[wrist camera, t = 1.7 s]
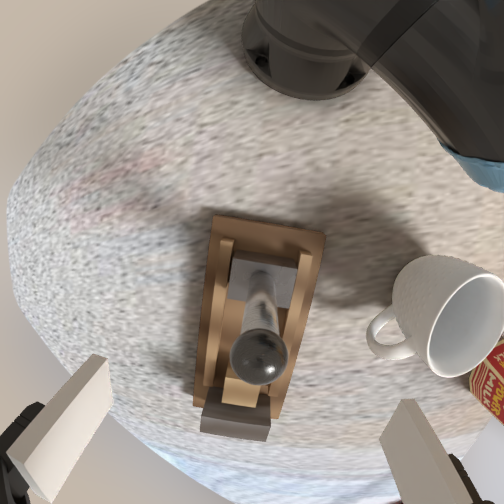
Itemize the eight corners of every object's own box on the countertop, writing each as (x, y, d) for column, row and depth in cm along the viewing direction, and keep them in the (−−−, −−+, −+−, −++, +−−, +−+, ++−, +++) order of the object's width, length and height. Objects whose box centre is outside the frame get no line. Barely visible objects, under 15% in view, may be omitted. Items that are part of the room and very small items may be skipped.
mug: (366, 352, 35) (401, 416, 23) (337, 284, 34) (373, 338, 21) (454, 298, 33) (511, 339, 21) (436, 228, 32) (503, 250, 19)
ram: (237, 249, 31) (201, 329, 13) (293, 258, 31) (327, 348, 13) (231, 284, 32) (196, 392, 14) (286, 294, 32) (306, 407, 14)
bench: (216, 214, 32) (201, 223, 25) (322, 232, 32) (340, 246, 24) (195, 397, 38) (183, 435, 30) (277, 410, 38) (279, 450, 30)
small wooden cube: (229, 358, 34) (225, 377, 30) (261, 363, 34) (261, 382, 30) (225, 382, 35) (221, 402, 31) (256, 387, 35) (255, 407, 31)
